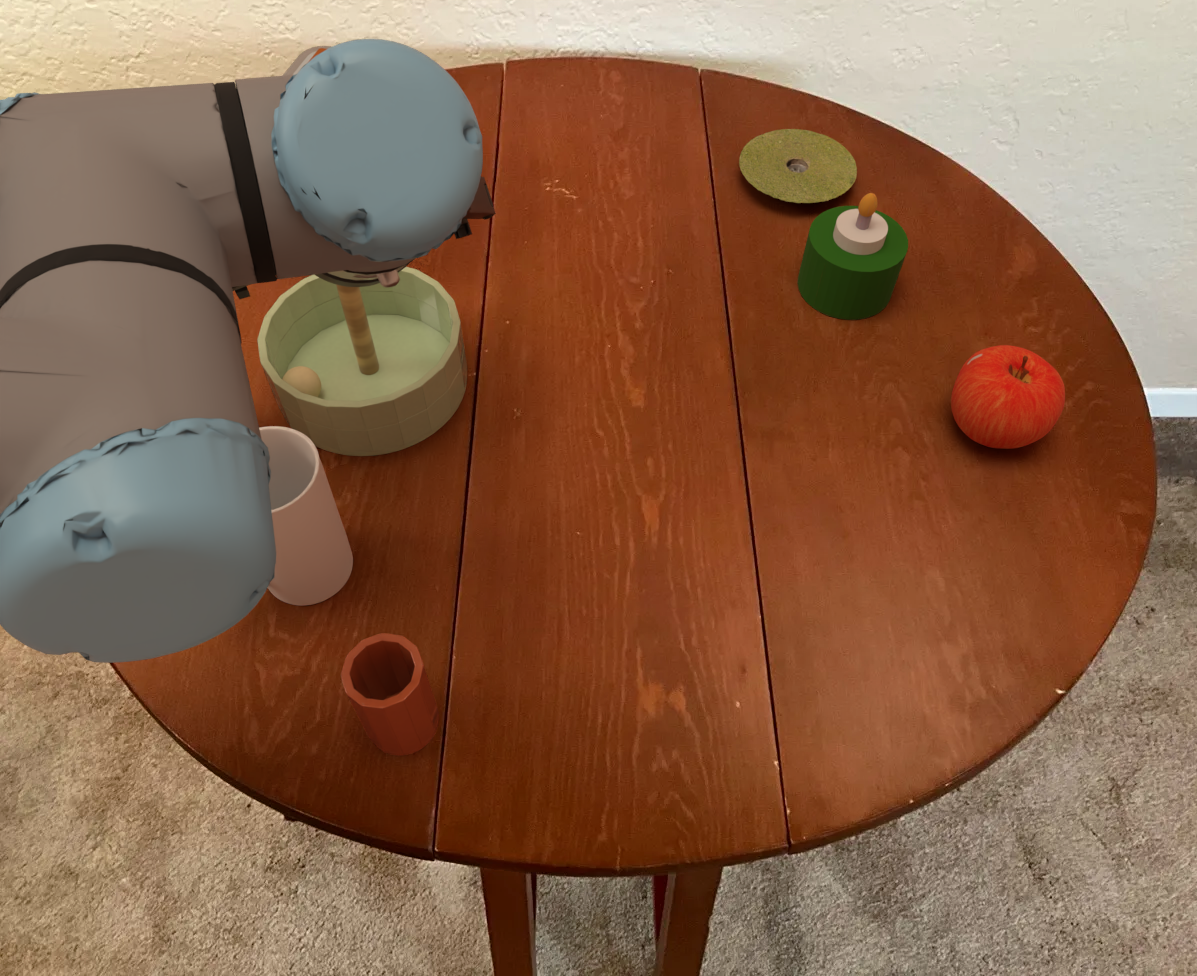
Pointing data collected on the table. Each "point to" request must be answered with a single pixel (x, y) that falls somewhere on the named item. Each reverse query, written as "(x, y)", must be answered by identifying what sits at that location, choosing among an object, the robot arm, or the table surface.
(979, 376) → the apple
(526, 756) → the table surface
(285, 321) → the bowl
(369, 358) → the stick
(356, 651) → the crock
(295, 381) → the dough ball
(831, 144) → the mat
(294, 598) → the mug
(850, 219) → the candle
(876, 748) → the table surface
